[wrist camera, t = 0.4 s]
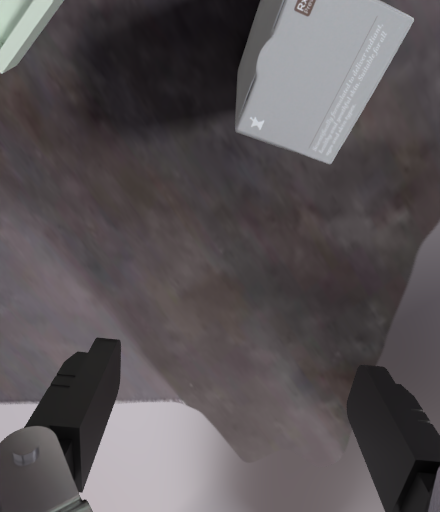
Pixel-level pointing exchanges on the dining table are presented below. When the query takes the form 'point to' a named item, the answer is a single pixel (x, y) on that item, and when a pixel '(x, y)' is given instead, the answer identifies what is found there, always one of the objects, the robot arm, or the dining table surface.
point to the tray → (22, 27)
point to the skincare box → (314, 70)
